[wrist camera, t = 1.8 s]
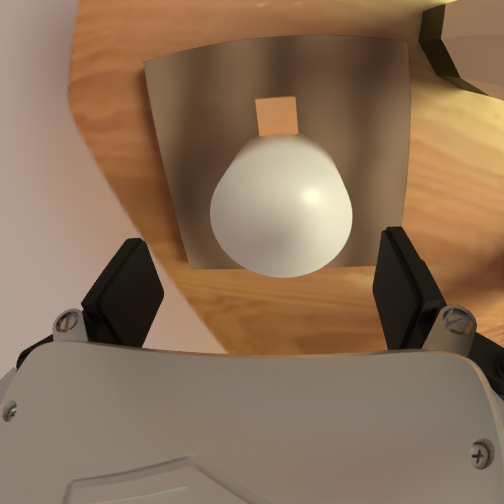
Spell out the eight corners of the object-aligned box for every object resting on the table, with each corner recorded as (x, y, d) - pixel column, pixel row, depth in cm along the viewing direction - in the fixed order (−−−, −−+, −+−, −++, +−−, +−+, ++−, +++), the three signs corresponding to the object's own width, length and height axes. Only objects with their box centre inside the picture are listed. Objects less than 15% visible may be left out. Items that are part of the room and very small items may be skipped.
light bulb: (336, 94, 14) (353, 103, 10) (337, 230, 20) (347, 276, 15) (217, 103, 16) (190, 114, 12) (237, 232, 21) (222, 278, 17)
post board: (398, 43, 16) (430, 38, 11) (389, 253, 27) (404, 293, 22) (154, 61, 19) (116, 62, 15) (195, 257, 31) (178, 296, 26)
